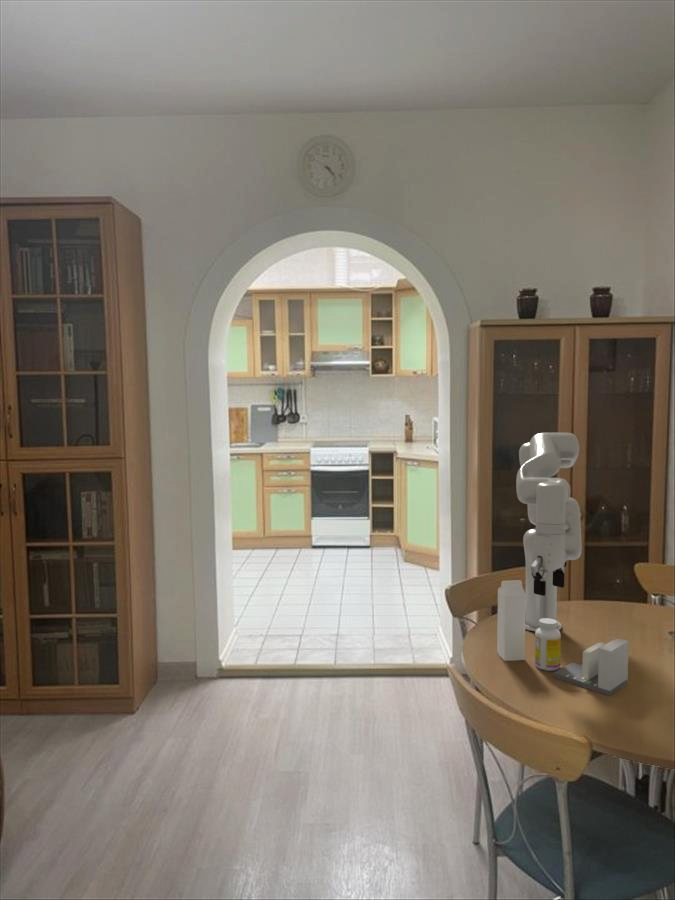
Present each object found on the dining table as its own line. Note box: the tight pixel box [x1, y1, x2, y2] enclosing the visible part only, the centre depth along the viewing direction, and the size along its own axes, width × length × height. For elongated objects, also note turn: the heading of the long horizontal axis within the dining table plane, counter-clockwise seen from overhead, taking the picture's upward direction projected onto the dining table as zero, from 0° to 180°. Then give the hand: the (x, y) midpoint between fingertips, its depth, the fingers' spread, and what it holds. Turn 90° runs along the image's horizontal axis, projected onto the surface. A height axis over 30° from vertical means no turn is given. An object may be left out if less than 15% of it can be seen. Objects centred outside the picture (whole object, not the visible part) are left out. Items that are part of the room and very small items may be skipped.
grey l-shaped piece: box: [553, 637, 630, 697], centre depth 172 cm, size 15×10×11 cm, turn 43°
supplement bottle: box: [534, 618, 562, 672], centre depth 181 cm, size 7×7×13 cm
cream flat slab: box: [581, 641, 606, 681], centre depth 171 cm, size 2×10×7 cm, turn 133°
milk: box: [496, 579, 526, 662], centre depth 188 cm, size 6×6×22 cm
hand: (549, 590), depth 180 cm, fingers open, 9 cm apart
